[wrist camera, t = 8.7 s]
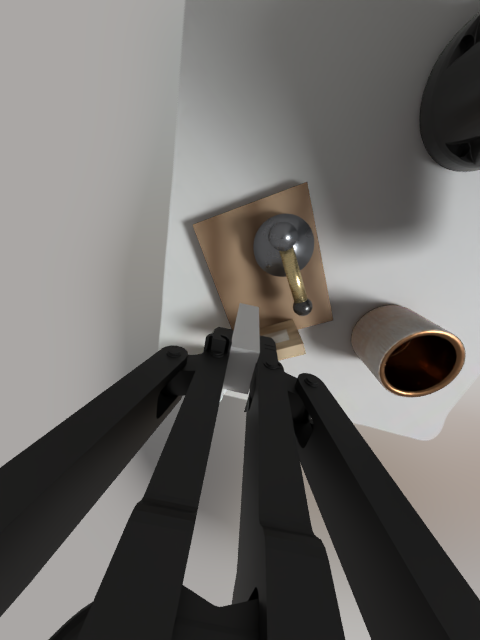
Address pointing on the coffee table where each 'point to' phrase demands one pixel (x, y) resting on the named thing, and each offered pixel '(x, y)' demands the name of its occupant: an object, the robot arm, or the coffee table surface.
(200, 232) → the stand
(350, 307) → the coffee table surface
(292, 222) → the ball knob lever
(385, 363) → the planter
